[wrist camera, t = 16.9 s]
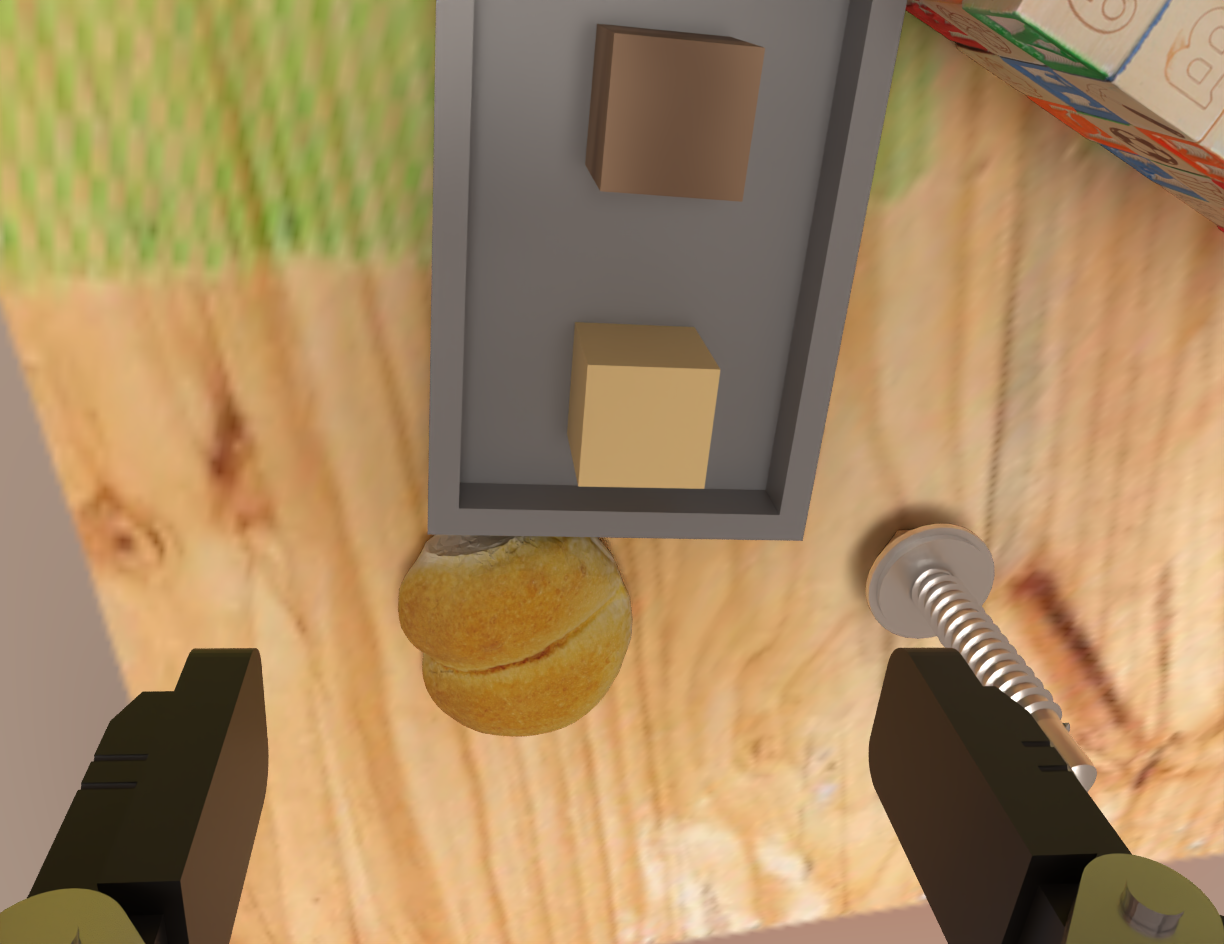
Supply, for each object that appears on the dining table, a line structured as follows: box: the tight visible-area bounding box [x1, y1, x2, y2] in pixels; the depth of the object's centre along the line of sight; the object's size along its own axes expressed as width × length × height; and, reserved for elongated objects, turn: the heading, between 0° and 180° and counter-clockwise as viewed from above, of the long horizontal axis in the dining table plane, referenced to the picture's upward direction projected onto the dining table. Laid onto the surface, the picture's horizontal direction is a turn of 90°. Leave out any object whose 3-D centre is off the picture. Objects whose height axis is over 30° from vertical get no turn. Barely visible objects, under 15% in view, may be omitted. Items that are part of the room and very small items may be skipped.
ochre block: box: [567, 322, 720, 489], centre depth 34 cm, size 4×4×4 cm
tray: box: [428, 0, 907, 541], centre depth 33 cm, size 13×19×2 cm
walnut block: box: [585, 24, 765, 202], centre depth 30 cm, size 4×4×4 cm
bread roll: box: [398, 535, 632, 736], centre depth 38 cm, size 8×9×4 cm
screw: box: [866, 524, 1097, 792], centre depth 35 cm, size 13×5×5 cm
